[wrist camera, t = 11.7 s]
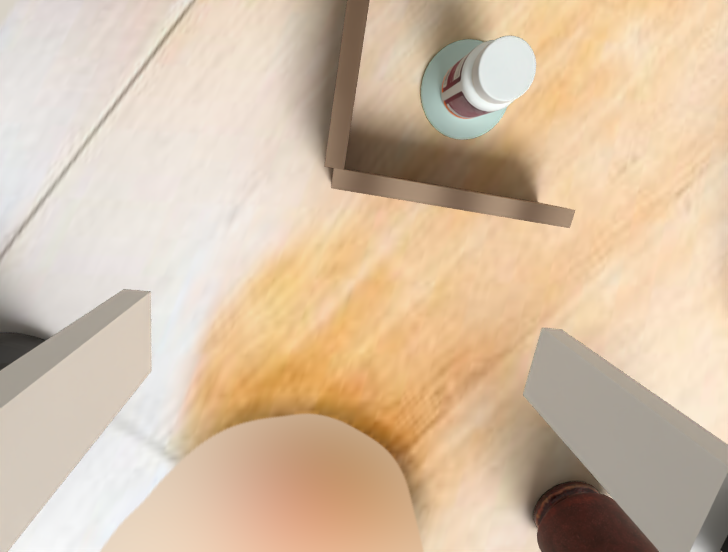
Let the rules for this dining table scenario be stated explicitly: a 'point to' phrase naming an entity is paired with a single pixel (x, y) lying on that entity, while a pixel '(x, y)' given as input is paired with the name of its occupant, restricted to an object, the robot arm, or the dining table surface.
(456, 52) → the disc
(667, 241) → the dining table surface
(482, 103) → the pill bottle
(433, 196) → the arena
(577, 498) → the vase
